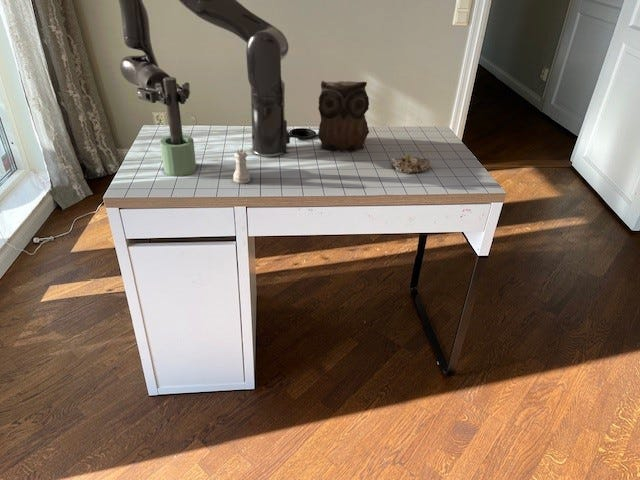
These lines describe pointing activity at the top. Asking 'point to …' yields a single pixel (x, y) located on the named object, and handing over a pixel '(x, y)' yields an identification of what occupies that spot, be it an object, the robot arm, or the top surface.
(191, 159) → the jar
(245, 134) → the top surface
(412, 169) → the mineral rock
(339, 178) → the top surface
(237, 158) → the rook chess piece
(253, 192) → the top surface
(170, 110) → the rod
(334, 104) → the owl
